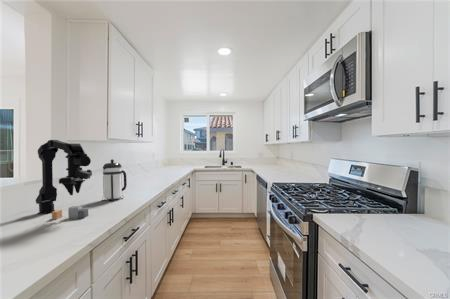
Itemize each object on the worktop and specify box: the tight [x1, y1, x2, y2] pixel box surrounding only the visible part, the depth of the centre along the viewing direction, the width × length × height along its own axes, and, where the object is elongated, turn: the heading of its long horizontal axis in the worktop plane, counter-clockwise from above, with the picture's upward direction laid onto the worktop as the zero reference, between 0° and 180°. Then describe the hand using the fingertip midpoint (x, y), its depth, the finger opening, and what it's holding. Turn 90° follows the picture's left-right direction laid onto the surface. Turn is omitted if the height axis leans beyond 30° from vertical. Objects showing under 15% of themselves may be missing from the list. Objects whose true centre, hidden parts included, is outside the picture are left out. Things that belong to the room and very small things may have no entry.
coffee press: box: [101, 159, 128, 202], centre depth 178 cm, size 17×16×30 cm
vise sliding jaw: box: [51, 209, 63, 221], centre depth 131 cm, size 2×5×4 cm, turn 5°
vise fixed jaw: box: [77, 208, 89, 219], centre depth 132 cm, size 3×5×4 cm, turn 5°
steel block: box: [67, 205, 83, 220], centre depth 132 cm, size 5×4×6 cm
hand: (74, 194), depth 131 cm, fingers open, 6 cm apart
